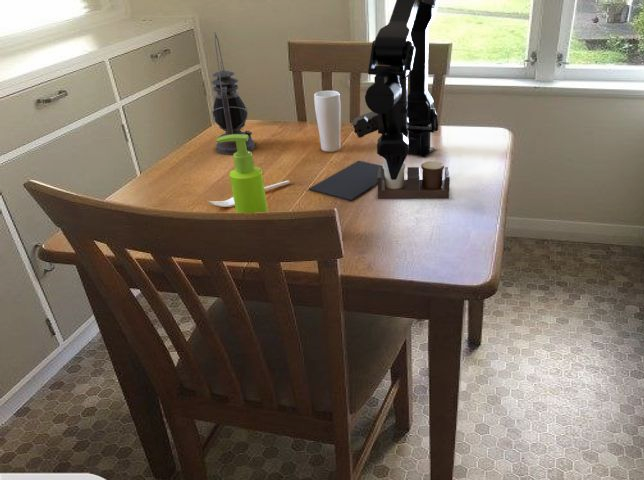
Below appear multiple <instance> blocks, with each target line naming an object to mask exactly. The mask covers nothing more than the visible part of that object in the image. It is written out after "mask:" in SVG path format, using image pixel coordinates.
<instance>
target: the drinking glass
mask: <svg viewBox="0 0 644 480" xmlns="http://www.w3.org/2000/svg"><path fill="white" fill-rule="evenodd" d="M313 98H314V99H313V102H314V103H313V104H314V113H315V118H316V123H317V128H318V129H317V130H318V135H319V141H320V149H321V150H322V151H323V152H326V153H333V152H334V153H335V152H338V151H339V150H340V149H342V146H341V145H342V144H341V128H342V127H341V122H342V121H341V120H342V105H341V103H342V102H341V94H340V92H339V91H337V90H320V91H316V92H315V93H314V94H313Z"/></svg>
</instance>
